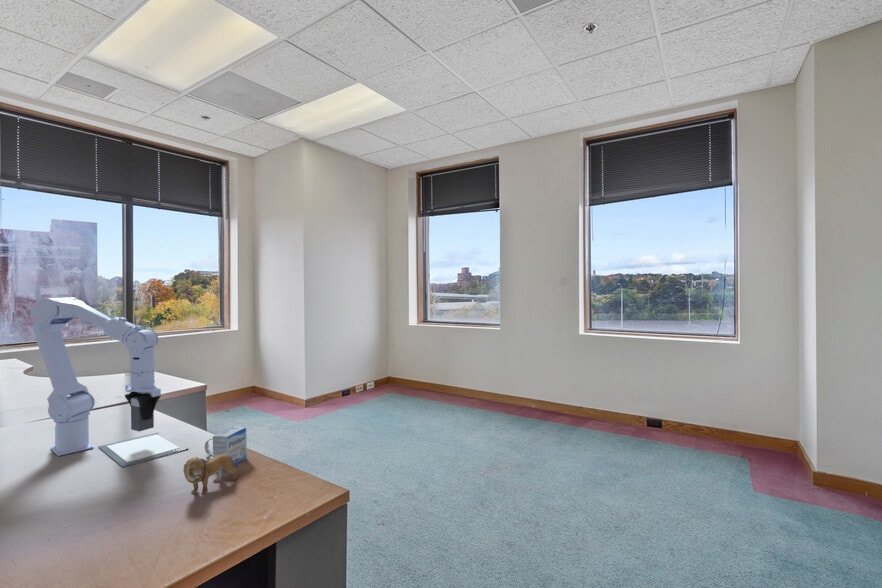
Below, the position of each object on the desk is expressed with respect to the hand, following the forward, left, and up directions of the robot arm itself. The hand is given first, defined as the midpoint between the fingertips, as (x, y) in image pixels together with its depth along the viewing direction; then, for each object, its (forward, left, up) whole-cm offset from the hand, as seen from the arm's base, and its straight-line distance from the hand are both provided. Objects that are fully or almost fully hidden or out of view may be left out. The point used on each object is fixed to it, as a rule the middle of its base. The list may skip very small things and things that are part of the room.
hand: (142, 418), depth 126 cm
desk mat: (0, 0, -9) cm, 9 cm away
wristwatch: (+21, +11, -9) cm, 25 cm away
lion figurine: (+41, +1, -9) cm, 42 cm away
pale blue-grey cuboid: (0, 0, -3) cm, 3 cm away
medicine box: (+30, +11, -9) cm, 33 cm away
